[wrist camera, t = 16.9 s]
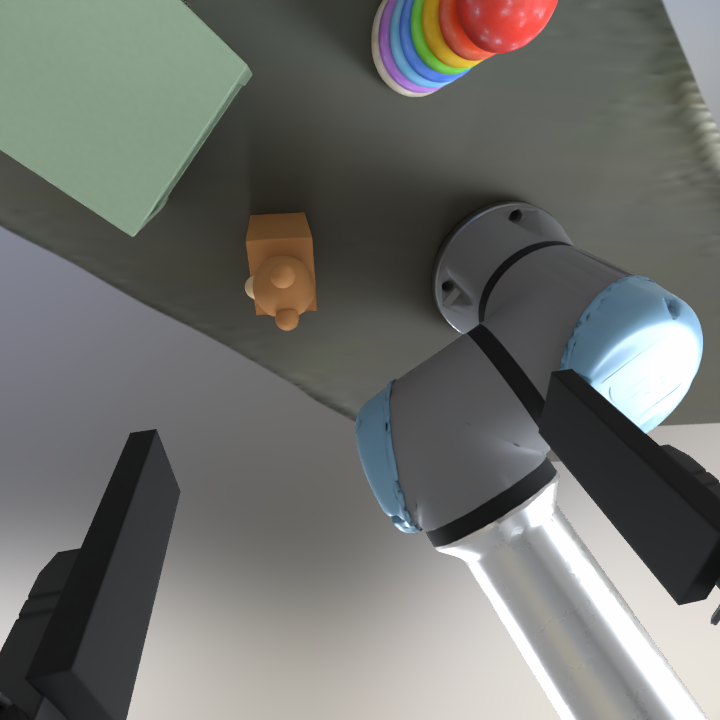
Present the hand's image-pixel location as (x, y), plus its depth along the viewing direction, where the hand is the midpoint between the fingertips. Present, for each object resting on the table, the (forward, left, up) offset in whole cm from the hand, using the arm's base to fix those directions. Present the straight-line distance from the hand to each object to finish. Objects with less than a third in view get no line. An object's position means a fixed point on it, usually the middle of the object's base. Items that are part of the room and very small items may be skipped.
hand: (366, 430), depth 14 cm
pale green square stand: (+17, +1, -32) cm, 36 cm away
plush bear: (0, +4, -32) cm, 33 cm away
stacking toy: (+2, -17, -33) cm, 37 cm away
